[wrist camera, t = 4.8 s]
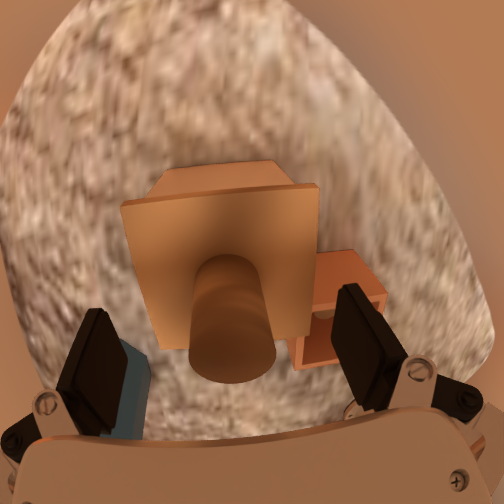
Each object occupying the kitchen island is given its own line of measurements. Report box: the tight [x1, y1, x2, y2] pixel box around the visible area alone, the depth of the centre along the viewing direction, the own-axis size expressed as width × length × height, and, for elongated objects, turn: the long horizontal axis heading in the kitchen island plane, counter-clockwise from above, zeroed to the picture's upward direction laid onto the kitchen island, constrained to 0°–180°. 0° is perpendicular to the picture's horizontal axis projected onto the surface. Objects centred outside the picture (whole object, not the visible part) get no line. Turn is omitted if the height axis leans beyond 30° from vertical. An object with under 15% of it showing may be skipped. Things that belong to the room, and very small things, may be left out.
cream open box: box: [145, 160, 294, 198], centre depth 19 cm, size 8×8×9 cm
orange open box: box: [286, 250, 388, 371], centre depth 24 cm, size 7×7×7 cm
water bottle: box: [100, 339, 151, 440], centre depth 19 cm, size 9×9×25 cm
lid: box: [120, 183, 319, 384], centre depth 13 cm, size 9×9×6 cm
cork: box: [314, 309, 335, 319], centre depth 26 cm, size 2×2×3 cm
